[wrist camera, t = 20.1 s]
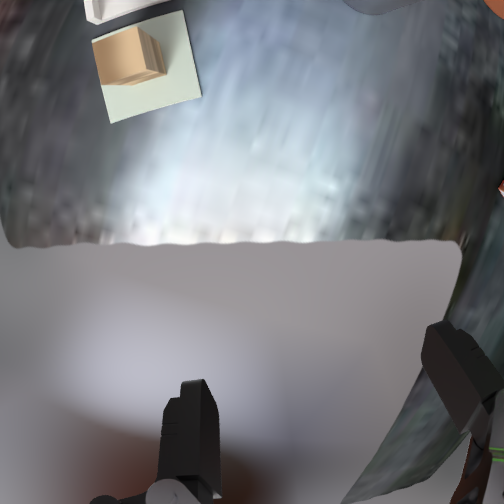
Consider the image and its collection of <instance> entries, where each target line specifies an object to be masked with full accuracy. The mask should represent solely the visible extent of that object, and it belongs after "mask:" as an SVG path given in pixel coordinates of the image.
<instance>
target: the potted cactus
mask: <svg viewBox="0 0 504 504" xmlns="http://www.w3.org/2000/svg"><path fill="white" fill-rule="evenodd" d="M484 2H485V3H486V4H487V5H488V7H489V8H490V9H491V10H492V11H493V12H494V13H495V14H497V15H498V16H499V17H501V18H502V19H504V0H484Z"/></svg>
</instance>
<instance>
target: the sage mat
mask: <svg viewBox="0 0 504 504" xmlns="http://www.w3.org/2000/svg"><path fill="white" fill-rule="evenodd" d="M136 26H137V27H139V28H140V29H142V30H143V31H144V32H146V33H147V34H149V35H150V36H151V37H153V38H154V39H156V40H157V41H158V42H159V43H160V47H161V52H162V56H163V61H164V65H165V69H166V73H167V75H164V76H161V77H157V78H154V79H151V80H148V81H145V82H142V83H138V84H135V85H133V86H130V85H101V86H102V91H103V95H104V99H105V103H106V107H107V111H108V115H109V119H110V122H111V123H114V122H117V121H120V120H123V119H126V118H129V117H132V116H135V115H138V114H141V113H145V112H148V111H151V110H154V109H158V108H161V107H165V106H168V105H172V104H176V103H180V102H183V101H187V100H191V99H195V98H199V97H202V95H201V91H200V86H199V82H198V77H197V73H196V68H195V64H194V59H193V55H192V50H191V46H190V41H189V37H188V32H187V27H186V23H185V18H184V14H183V10H180V11H176V12H173V13H169V14H165V15H162V16H158V17H155V18H152V19H148V20H145V21H142V22H139V23H136V24H133V25H130V26H127V27H124V28H122V29H119V30H116V31H114V32H111V33H108V34H106V35H103V36H101V37H98V38H96V39H93V40H92V43H94V42H96V41H99V40H101V39H104V38H106V37H109V36H111V35H114V34H117V33H119V32H122V31H125V30H127V29H130V28H133V27H136ZM99 78H100V77H99Z"/></svg>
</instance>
